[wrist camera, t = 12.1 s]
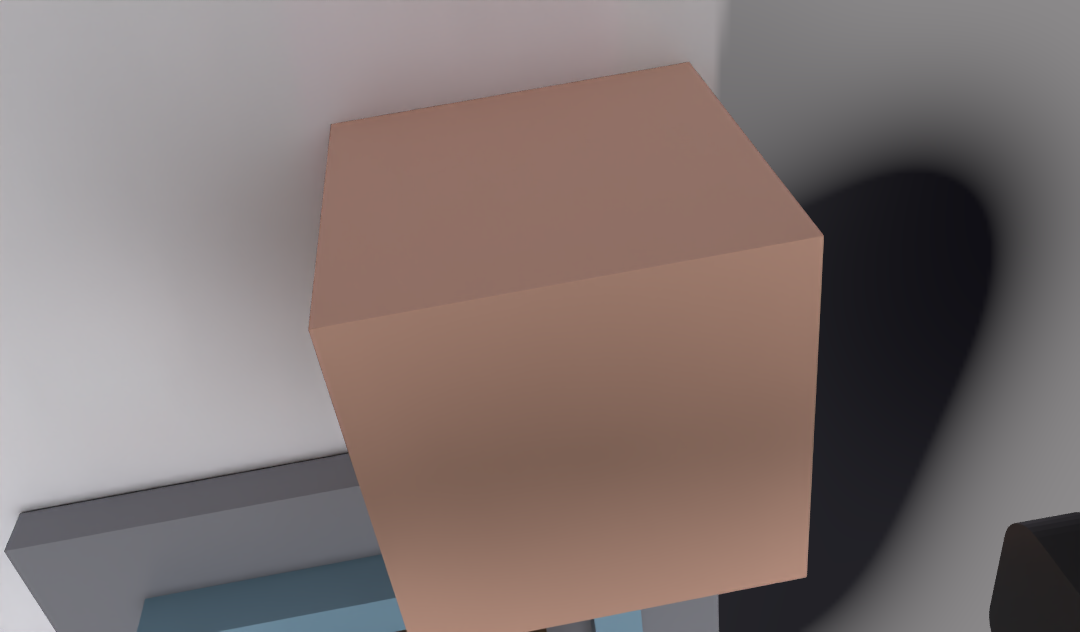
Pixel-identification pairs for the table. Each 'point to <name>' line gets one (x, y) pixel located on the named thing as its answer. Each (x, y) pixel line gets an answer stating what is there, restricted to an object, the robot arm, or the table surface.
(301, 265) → the table surface
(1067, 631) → the robot arm
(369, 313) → the terracotta block
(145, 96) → the table surface
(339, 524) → the baseplate
